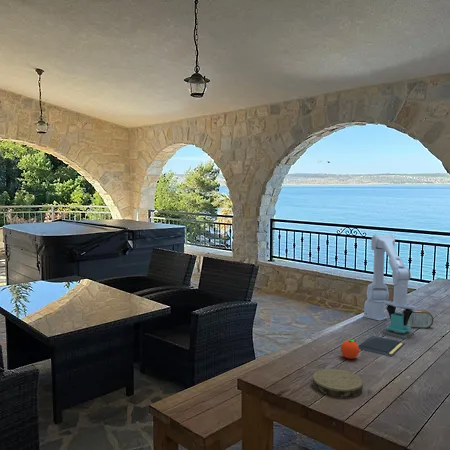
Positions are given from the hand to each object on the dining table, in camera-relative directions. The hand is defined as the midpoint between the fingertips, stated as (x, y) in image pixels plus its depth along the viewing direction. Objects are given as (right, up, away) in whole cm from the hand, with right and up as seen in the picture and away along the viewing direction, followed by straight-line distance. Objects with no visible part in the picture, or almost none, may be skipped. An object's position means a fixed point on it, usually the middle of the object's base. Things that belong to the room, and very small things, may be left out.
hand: (398, 323), depth 194 cm
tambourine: (-43, -9, -55) cm, 70 cm away
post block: (0, -5, 0) cm, 5 cm away
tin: (+13, -5, +11) cm, 18 cm away
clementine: (-31, -7, -30) cm, 43 cm away
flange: (0, -3, 0) cm, 2 cm away
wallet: (-14, -7, -16) cm, 22 cm away
